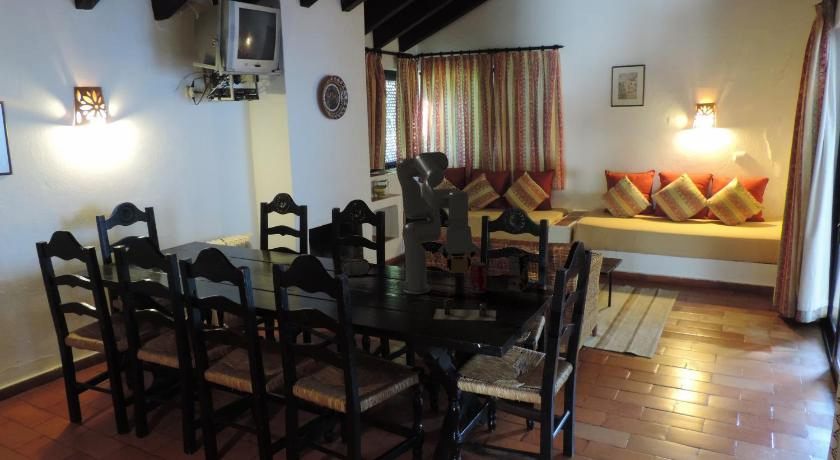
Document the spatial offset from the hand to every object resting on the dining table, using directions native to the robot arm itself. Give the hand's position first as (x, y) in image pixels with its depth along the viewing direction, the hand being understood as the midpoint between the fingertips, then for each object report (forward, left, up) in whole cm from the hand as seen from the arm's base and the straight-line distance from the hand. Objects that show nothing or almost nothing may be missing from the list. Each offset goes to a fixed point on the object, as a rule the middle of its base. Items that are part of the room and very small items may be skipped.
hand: (458, 268), depth 233 cm
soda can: (+6, +35, -20) cm, 41 cm away
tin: (-56, +59, -20) cm, 84 cm away
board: (+2, 0, -20) cm, 20 cm away
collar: (0, 0, -1) cm, 1 cm away
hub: (+9, 0, -19) cm, 21 cm away
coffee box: (+24, +41, -20) cm, 52 cm away
